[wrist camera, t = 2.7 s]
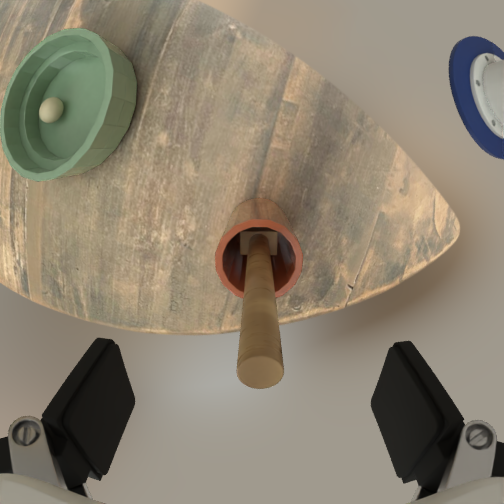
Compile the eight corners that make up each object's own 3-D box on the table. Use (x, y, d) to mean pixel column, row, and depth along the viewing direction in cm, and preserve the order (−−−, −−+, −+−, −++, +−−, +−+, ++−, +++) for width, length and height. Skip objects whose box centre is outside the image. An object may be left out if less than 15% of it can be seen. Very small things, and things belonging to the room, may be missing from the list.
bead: (69, 96, 23) (53, 92, 21) (68, 120, 24) (52, 119, 22) (50, 101, 24) (35, 99, 21) (49, 125, 24) (33, 125, 22)
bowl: (144, 30, 22) (121, 9, 16) (138, 167, 27) (111, 171, 21) (37, 65, 22) (8, 57, 16) (32, 181, 27) (0, 188, 21)
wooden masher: (274, 218, 28) (307, 350, 9) (273, 238, 28) (301, 392, 9) (242, 218, 28) (214, 349, 9) (242, 238, 28) (217, 391, 9)
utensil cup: (288, 198, 28) (305, 220, 18) (286, 255, 30) (299, 301, 20) (228, 197, 28) (213, 219, 18) (229, 254, 30) (216, 300, 20)
